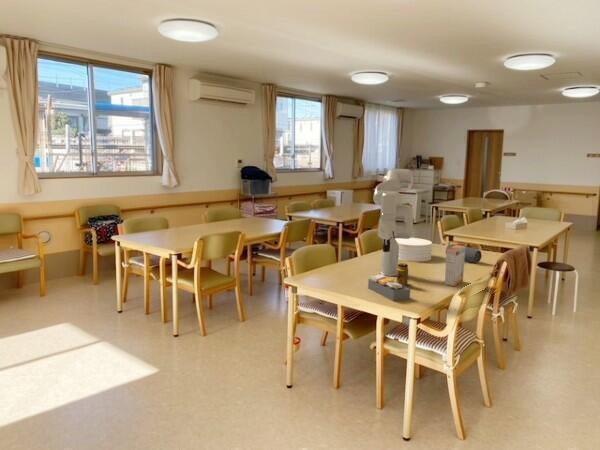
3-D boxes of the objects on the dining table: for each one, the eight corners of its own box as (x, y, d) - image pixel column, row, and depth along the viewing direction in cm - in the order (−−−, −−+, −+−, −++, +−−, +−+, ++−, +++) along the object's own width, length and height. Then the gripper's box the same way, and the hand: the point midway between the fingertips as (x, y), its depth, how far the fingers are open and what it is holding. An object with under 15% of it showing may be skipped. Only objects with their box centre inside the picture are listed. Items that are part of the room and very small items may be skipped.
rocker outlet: (396, 287, 233) (397, 282, 233) (401, 289, 229) (402, 285, 229) (386, 286, 230) (387, 281, 230) (391, 288, 226) (392, 284, 226)
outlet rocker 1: (381, 278, 245) (381, 273, 245) (386, 280, 241) (385, 275, 241) (371, 281, 243) (371, 276, 243) (376, 283, 239) (375, 279, 239)
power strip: (383, 286, 250) (384, 277, 249) (409, 298, 229) (410, 289, 228) (368, 288, 246) (368, 278, 245) (393, 301, 225) (393, 291, 224)
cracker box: (453, 279, 266) (455, 244, 263) (463, 281, 263) (466, 246, 259) (443, 284, 256) (446, 248, 252) (454, 286, 252) (457, 249, 249)
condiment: (393, 285, 253) (394, 264, 251) (400, 282, 259) (401, 261, 257) (405, 287, 248) (406, 266, 246) (412, 284, 254) (413, 263, 253)
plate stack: (435, 256, 328) (437, 240, 326) (423, 263, 305) (424, 247, 303) (398, 251, 343) (399, 236, 341) (384, 257, 320) (385, 241, 318)
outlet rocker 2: (388, 281, 239) (388, 277, 239) (393, 284, 235) (393, 279, 235) (378, 284, 237) (378, 279, 236) (383, 286, 233) (383, 282, 232)
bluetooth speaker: (444, 258, 322) (445, 244, 320) (452, 256, 327) (453, 243, 326) (473, 264, 304) (474, 250, 302) (481, 263, 309) (482, 248, 308)
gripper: (373, 215, 239) (372, 248, 242) (390, 219, 226) (388, 255, 229) (385, 214, 242) (384, 247, 245) (402, 218, 228) (400, 254, 232)
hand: (386, 251), depth 237 cm, fingers closed
